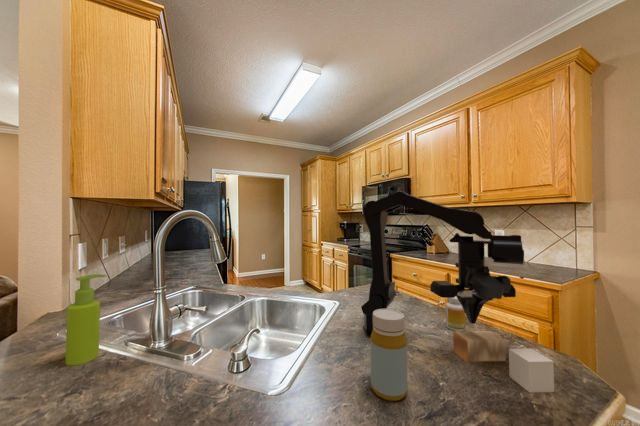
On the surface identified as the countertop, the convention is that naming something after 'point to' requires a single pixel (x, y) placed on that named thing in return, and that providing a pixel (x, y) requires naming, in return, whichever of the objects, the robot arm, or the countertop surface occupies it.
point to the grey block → (531, 370)
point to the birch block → (479, 346)
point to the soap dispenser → (83, 324)
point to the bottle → (389, 355)
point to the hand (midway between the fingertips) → (472, 323)
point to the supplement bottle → (455, 315)
